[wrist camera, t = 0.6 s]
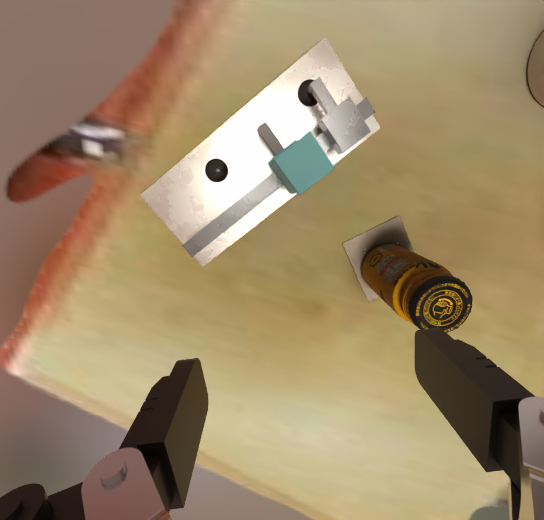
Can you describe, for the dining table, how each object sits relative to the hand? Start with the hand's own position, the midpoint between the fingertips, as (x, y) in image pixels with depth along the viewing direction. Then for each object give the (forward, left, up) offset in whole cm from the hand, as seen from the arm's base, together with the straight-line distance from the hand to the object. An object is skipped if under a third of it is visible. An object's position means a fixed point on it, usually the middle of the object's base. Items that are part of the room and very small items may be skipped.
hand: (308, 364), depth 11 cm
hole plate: (-4, -8, -24) cm, 26 cm away
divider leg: (-6, -7, -22) cm, 24 cm away
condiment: (-9, +10, -24) cm, 28 cm away
